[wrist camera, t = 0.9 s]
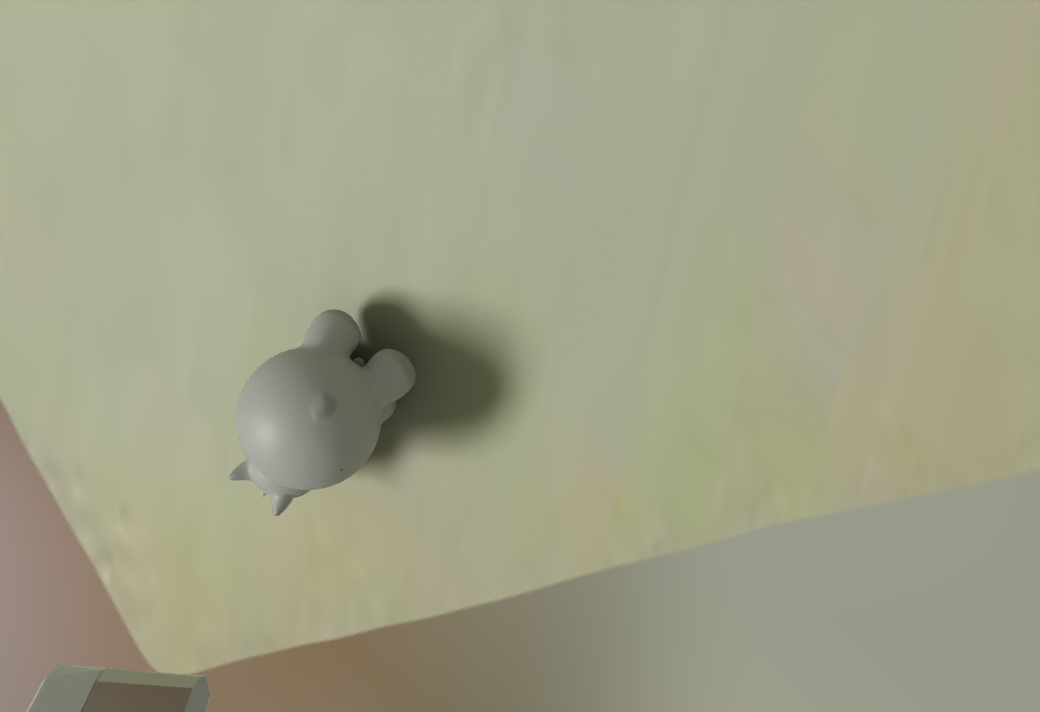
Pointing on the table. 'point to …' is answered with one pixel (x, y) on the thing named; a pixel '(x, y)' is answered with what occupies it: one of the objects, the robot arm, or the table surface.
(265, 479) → the round bodied animal figurine
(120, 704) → the robot arm
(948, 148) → the table surface
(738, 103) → the table surface
